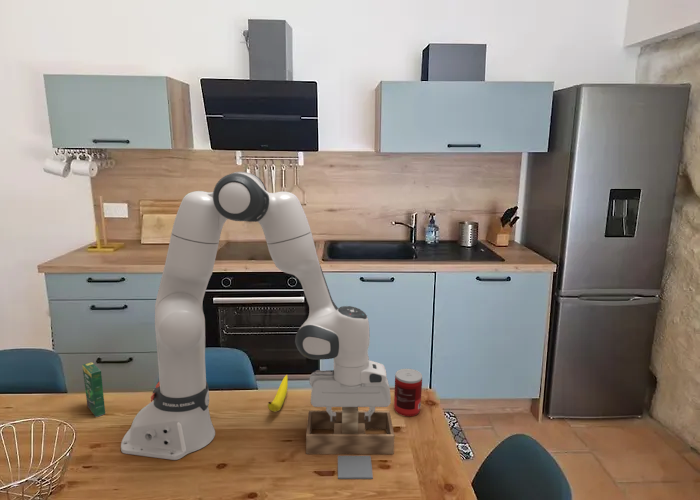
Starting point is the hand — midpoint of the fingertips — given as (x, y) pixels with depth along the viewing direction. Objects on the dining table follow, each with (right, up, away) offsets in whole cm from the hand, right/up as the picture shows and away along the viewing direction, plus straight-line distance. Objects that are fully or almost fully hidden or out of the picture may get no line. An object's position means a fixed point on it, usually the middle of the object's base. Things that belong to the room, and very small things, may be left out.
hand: (350, 420), depth 128 cm
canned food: (+16, -3, +16) cm, 23 cm away
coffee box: (-72, -2, +13) cm, 73 cm away
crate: (0, -5, +1) cm, 6 cm away
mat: (+1, -8, -10) cm, 13 cm away
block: (0, -3, 0) cm, 3 cm away
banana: (-21, -2, +17) cm, 27 cm away
